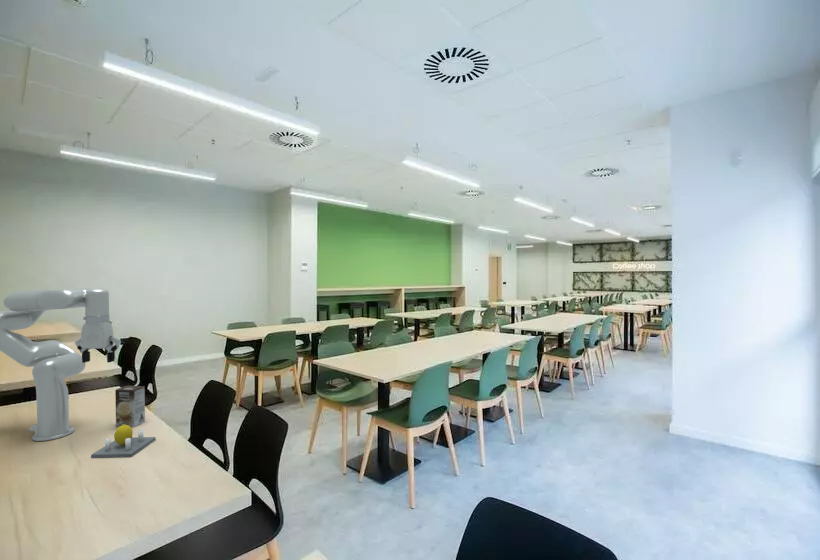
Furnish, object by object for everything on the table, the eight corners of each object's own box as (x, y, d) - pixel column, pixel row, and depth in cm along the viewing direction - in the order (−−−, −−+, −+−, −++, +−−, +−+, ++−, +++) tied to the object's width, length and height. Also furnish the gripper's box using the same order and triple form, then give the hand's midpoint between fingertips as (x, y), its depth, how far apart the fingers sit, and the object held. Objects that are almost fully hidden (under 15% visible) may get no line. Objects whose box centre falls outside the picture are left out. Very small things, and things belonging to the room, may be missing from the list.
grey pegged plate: (91, 458, 137) (90, 443, 137) (119, 440, 151) (119, 427, 151) (131, 457, 138) (131, 442, 138) (155, 439, 152) (155, 427, 152)
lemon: (120, 442, 147) (120, 421, 147) (136, 441, 148) (135, 421, 147) (110, 449, 142) (110, 427, 141) (126, 448, 142) (126, 427, 142)
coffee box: (114, 426, 165) (114, 389, 165) (127, 420, 172) (126, 385, 171) (134, 427, 164) (133, 390, 164) (146, 421, 171) (145, 385, 170)
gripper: (67, 321, 151) (68, 364, 151) (112, 320, 151) (113, 363, 152) (83, 318, 158) (84, 360, 159) (126, 318, 159) (127, 359, 159)
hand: (98, 361), depth 155 cm, fingers open, 9 cm apart
